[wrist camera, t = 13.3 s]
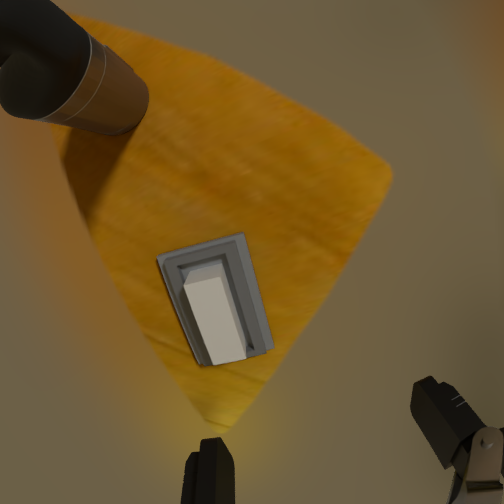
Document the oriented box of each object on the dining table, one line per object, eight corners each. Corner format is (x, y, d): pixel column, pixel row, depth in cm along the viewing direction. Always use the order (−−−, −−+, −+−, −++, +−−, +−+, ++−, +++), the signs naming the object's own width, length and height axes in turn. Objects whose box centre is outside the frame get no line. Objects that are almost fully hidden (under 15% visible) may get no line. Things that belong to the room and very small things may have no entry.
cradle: (199, 360, 43) (197, 370, 41) (158, 254, 38) (153, 260, 36) (273, 344, 43) (275, 353, 41) (243, 231, 38) (243, 236, 36)
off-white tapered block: (215, 344, 41) (213, 365, 37) (189, 271, 38) (183, 285, 33) (245, 338, 41) (246, 358, 36) (222, 263, 38) (220, 276, 33)
